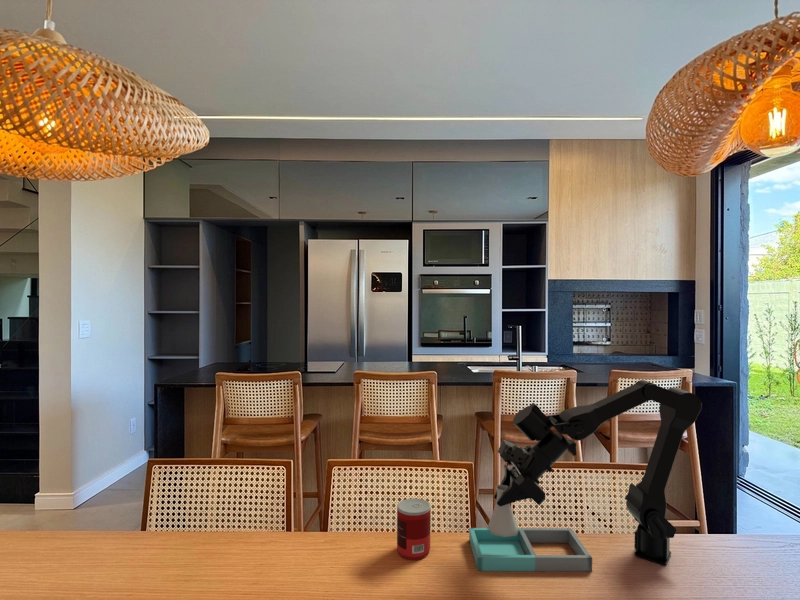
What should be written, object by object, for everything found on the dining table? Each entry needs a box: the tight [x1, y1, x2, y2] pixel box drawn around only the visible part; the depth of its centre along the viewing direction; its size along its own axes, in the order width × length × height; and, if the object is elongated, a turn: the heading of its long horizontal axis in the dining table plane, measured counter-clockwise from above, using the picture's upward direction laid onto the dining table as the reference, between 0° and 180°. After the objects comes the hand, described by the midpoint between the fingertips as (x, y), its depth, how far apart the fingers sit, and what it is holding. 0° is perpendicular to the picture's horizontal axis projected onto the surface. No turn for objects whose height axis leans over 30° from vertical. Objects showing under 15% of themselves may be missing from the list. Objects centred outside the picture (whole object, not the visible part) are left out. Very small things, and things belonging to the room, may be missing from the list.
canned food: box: [396, 498, 432, 561], centre depth 113 cm, size 8×8×11 cm
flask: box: [486, 484, 520, 537], centre depth 112 cm, size 7×7×10 cm
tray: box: [468, 527, 593, 572], centre depth 112 cm, size 25×13×3 cm, turn 90°
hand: (496, 501), depth 112 cm, fingers closed on flask, 3 cm apart
